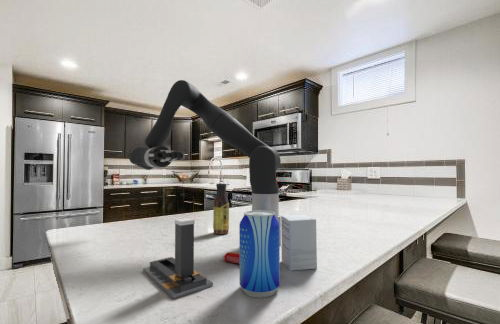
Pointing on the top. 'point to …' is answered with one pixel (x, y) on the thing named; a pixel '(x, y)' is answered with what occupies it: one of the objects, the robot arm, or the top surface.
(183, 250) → the fader knob
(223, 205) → the sauce bottle
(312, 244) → the supplement box
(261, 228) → the beer can
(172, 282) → the fader track
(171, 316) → the top surface
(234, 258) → the candy bar
